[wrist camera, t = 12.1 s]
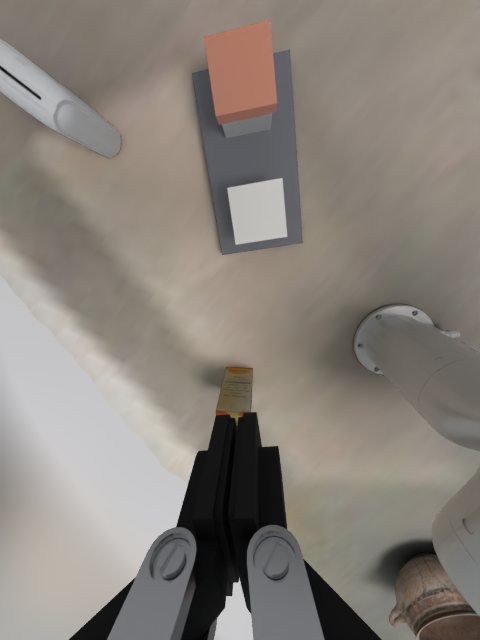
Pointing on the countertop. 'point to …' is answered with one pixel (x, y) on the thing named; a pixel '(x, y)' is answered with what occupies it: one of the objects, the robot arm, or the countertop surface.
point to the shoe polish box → (235, 392)
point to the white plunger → (258, 211)
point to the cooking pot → (432, 602)
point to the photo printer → (54, 103)
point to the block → (252, 155)
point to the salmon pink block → (242, 72)
